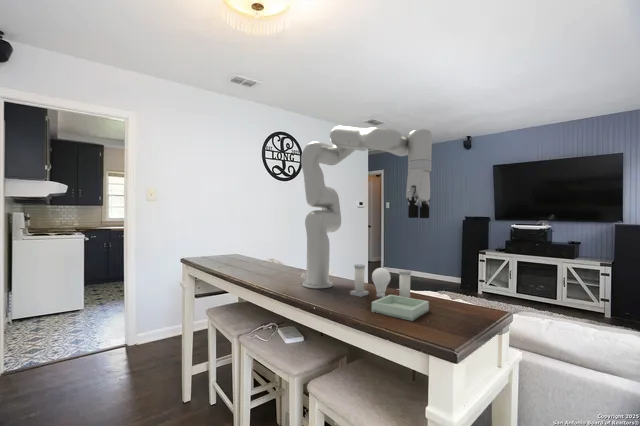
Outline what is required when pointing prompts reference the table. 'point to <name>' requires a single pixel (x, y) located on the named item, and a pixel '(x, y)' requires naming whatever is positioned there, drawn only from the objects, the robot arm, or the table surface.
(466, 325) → the table surface
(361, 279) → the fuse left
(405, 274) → the post
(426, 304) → the tray
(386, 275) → the light bulb
